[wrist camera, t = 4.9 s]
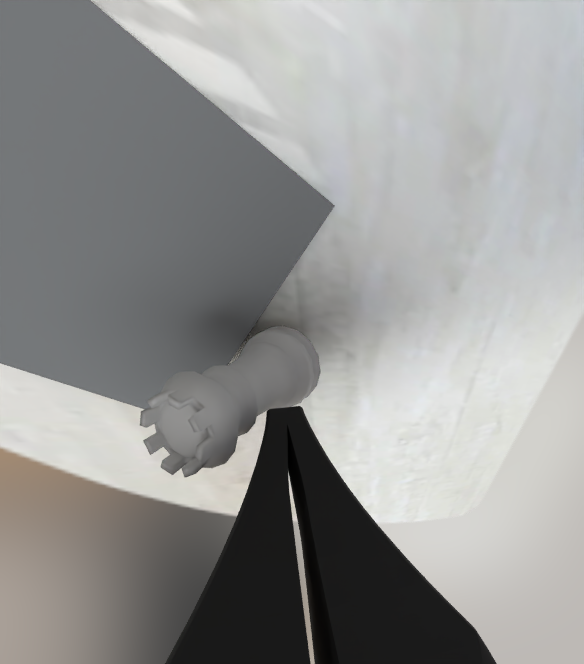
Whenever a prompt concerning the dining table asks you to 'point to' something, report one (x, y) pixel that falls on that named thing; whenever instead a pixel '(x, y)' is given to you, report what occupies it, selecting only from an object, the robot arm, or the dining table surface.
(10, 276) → the mat
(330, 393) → the dining table surface
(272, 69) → the dining table surface
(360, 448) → the dining table surface
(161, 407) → the rook chess piece
